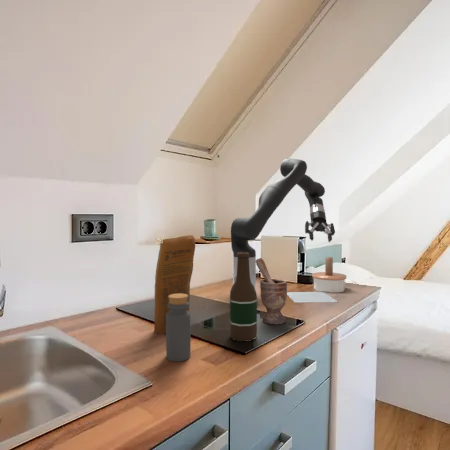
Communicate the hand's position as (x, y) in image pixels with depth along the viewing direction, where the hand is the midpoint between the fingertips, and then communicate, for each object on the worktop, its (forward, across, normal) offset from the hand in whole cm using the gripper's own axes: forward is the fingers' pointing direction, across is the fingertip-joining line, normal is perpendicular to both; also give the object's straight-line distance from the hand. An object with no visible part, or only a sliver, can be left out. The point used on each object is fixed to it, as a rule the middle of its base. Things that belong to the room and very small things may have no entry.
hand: (321, 240), depth 164 cm
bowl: (+24, +2, +6) cm, 25 cm away
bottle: (+74, -55, -47) cm, 103 cm away
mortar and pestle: (+54, -30, -26) cm, 67 cm away
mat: (+34, -10, -5) cm, 36 cm away
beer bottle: (+65, -39, -38) cm, 84 cm away
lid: (+19, +2, +2) cm, 19 cm away
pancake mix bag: (+60, -60, -30) cm, 90 cm away
